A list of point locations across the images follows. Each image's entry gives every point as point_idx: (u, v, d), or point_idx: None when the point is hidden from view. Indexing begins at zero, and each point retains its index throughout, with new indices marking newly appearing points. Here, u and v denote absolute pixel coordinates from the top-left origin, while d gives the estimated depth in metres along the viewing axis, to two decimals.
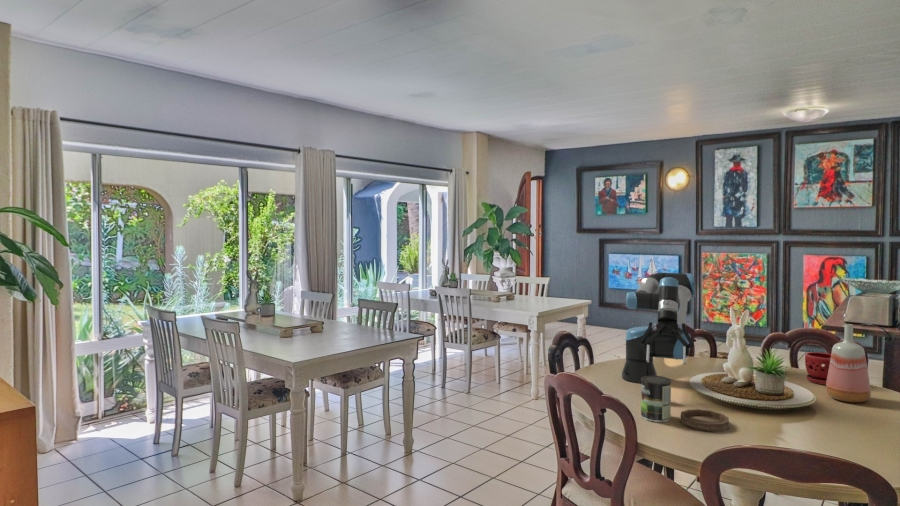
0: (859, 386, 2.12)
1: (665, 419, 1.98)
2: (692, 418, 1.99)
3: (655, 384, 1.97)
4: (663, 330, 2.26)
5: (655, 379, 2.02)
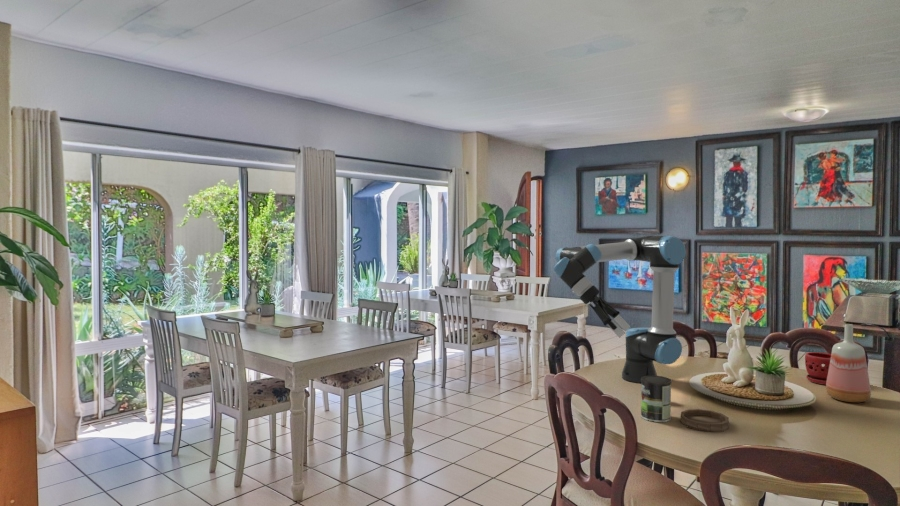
0: (859, 386, 2.12)
1: (665, 419, 1.98)
2: (692, 418, 1.99)
3: (655, 384, 1.97)
4: None
5: (655, 379, 2.02)
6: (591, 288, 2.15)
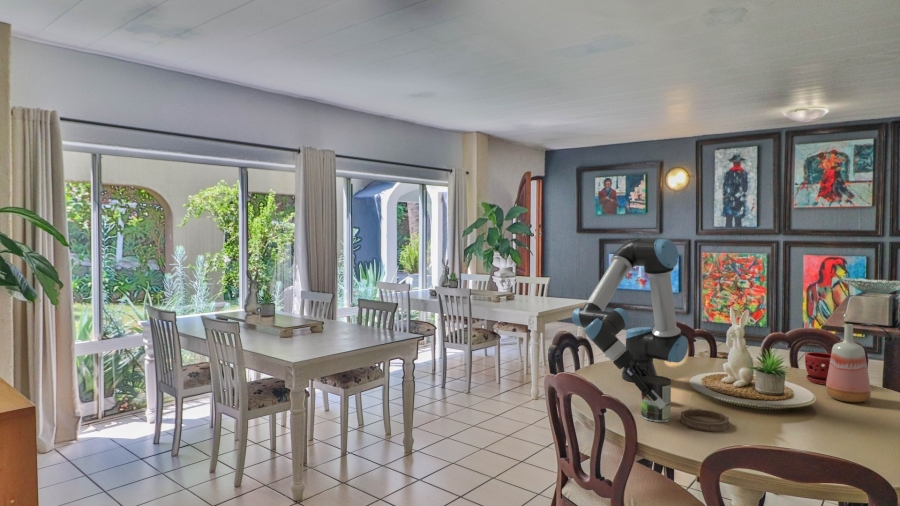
0: (859, 386, 2.12)
1: (665, 419, 1.98)
2: (692, 418, 1.99)
3: (655, 384, 1.97)
4: None
5: (655, 379, 2.02)
6: (625, 353, 2.04)
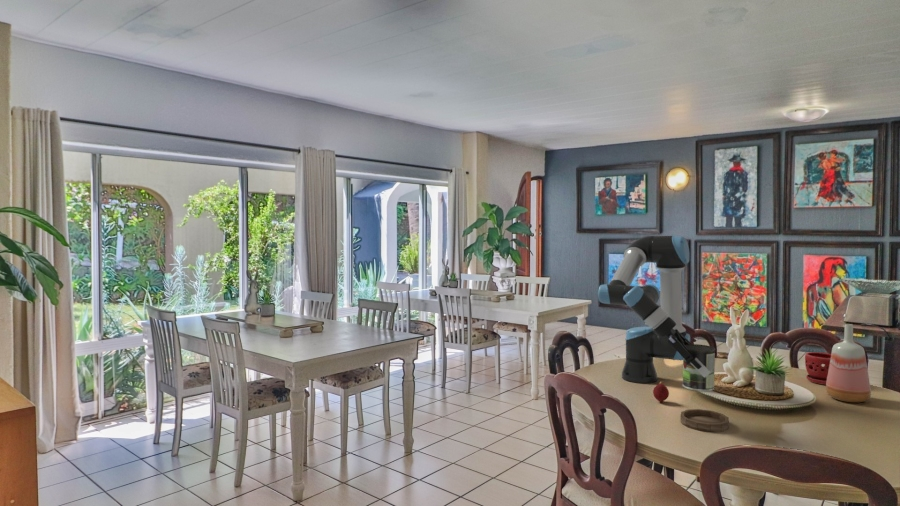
0: (859, 386, 2.12)
1: (709, 388, 1.91)
2: (692, 418, 1.99)
3: (699, 352, 1.90)
4: None
5: (698, 347, 1.95)
6: (667, 320, 1.96)
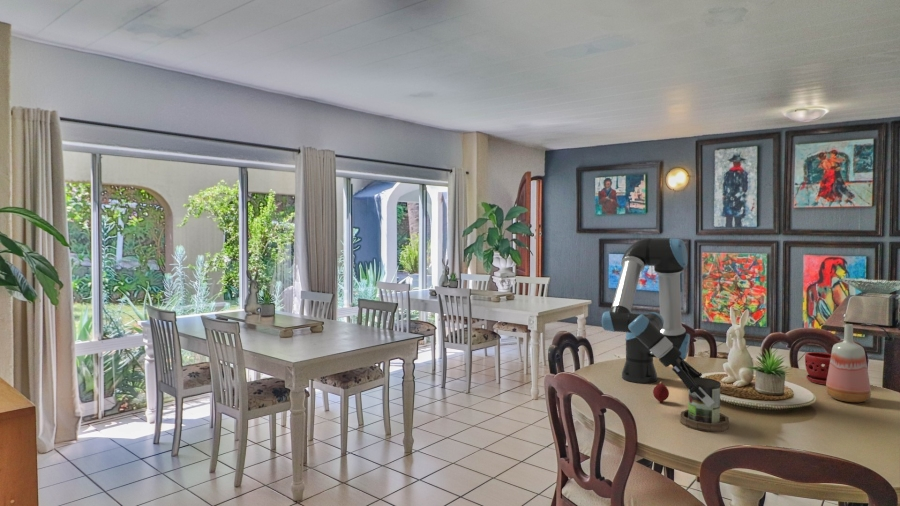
0: (859, 386, 2.12)
1: None
2: None
3: (705, 387, 1.90)
4: None
5: (703, 381, 1.95)
6: (673, 350, 1.97)
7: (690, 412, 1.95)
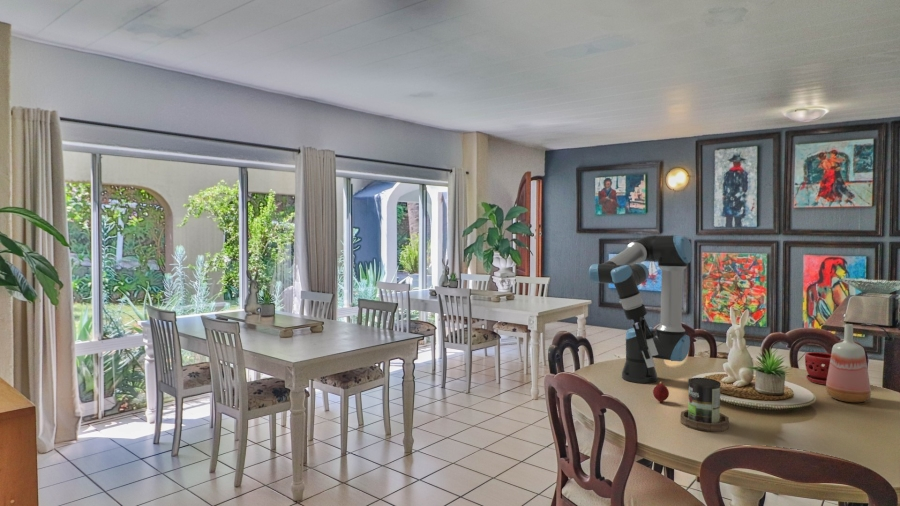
0: (859, 386, 2.12)
1: None
2: None
3: (704, 387, 1.90)
4: None
5: (703, 381, 1.95)
6: (641, 308, 2.03)
7: (690, 412, 1.95)
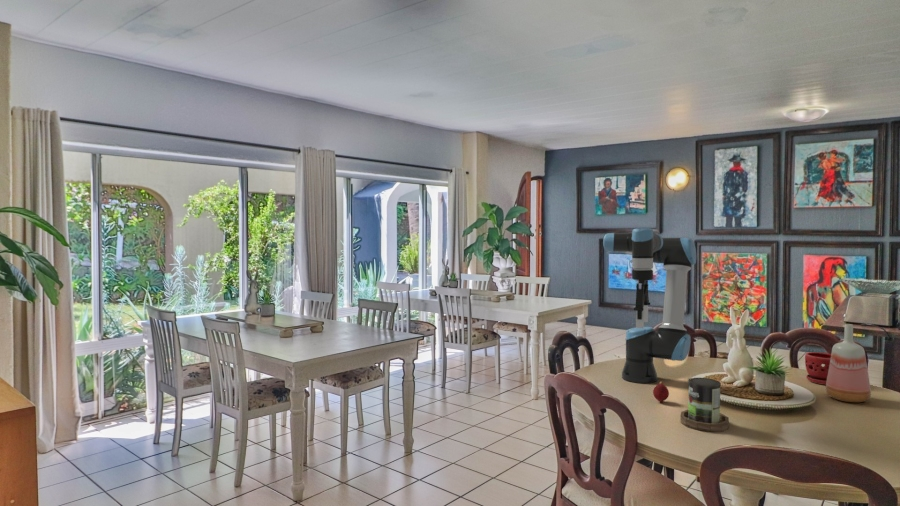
0: (859, 386, 2.12)
1: None
2: None
3: (705, 387, 1.90)
4: None
5: (703, 381, 1.95)
6: (649, 272, 2.08)
7: (690, 412, 1.95)
